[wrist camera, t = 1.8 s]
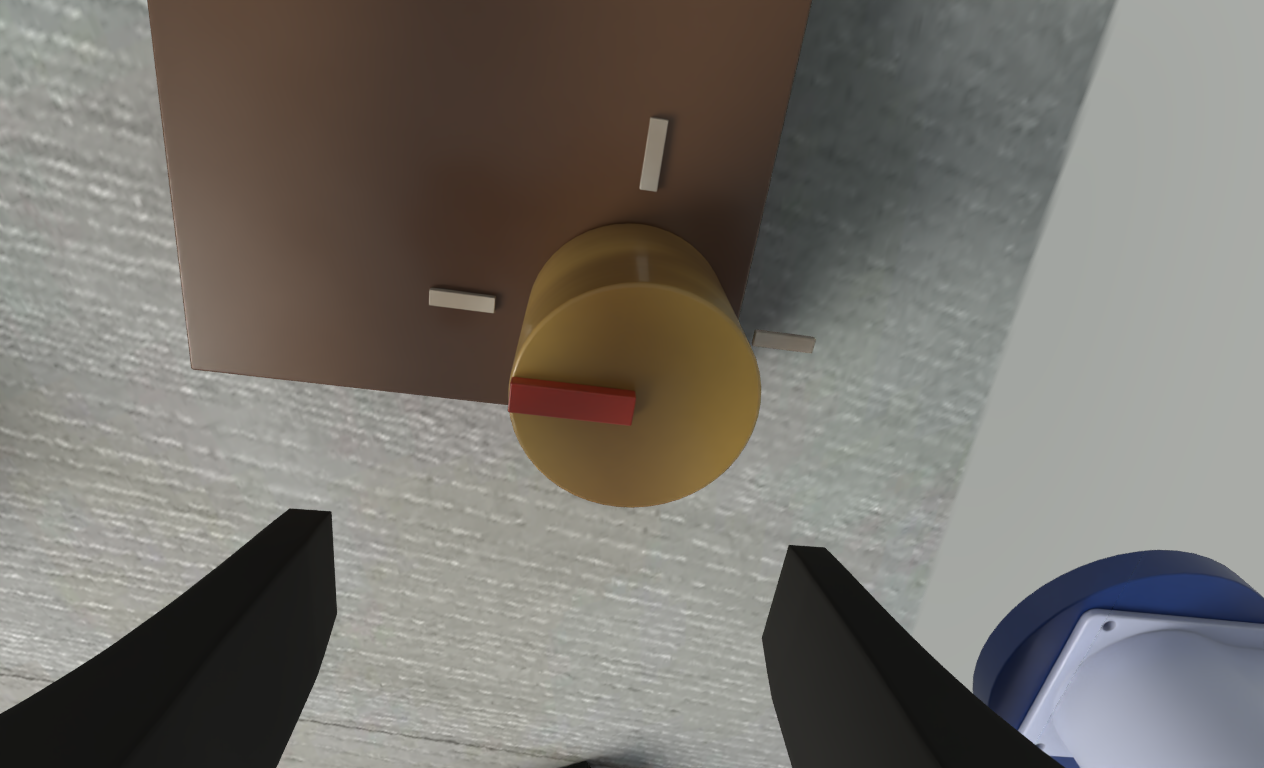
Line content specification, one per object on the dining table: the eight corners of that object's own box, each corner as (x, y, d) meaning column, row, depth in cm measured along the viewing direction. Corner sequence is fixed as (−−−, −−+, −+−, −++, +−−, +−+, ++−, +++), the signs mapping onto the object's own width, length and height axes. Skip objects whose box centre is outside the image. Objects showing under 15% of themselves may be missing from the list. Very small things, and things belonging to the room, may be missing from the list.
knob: (744, 238, 15) (794, 308, 12) (704, 418, 17) (735, 530, 14) (536, 208, 15) (517, 270, 11) (519, 396, 17) (496, 506, 13)
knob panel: (995, -534, 13) (1109, -694, 10) (746, 438, 21) (769, 502, 18) (161, -758, 11) (15, -1023, 8) (252, 382, 20) (194, 442, 17)
